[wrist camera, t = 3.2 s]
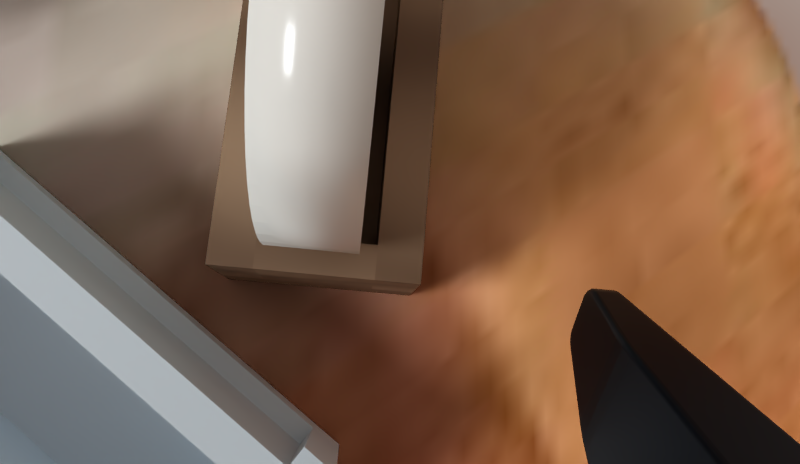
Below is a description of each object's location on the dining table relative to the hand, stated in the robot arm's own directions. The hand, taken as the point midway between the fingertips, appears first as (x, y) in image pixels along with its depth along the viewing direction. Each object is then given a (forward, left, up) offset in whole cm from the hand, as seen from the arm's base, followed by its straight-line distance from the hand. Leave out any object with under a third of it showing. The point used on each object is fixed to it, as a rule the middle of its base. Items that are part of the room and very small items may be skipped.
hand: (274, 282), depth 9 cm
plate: (+4, -5, -6) cm, 9 cm away
